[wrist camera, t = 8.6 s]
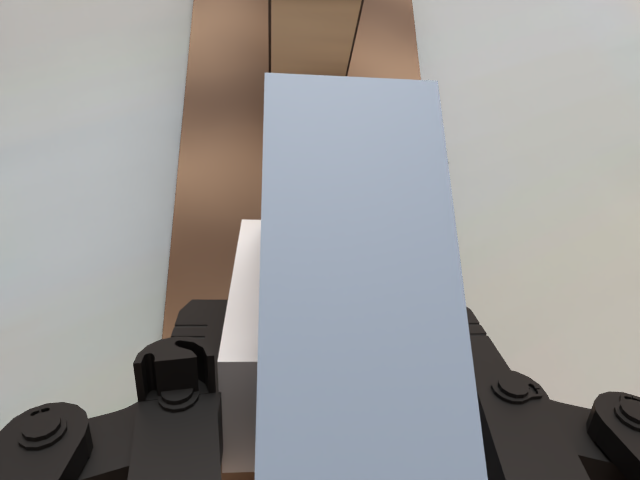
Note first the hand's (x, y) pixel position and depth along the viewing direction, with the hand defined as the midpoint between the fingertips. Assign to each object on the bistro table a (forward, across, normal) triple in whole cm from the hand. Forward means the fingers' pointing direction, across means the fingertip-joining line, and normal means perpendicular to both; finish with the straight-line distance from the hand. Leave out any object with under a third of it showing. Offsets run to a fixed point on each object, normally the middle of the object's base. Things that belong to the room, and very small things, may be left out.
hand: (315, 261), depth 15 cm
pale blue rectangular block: (0, 0, -4) cm, 4 cm away
